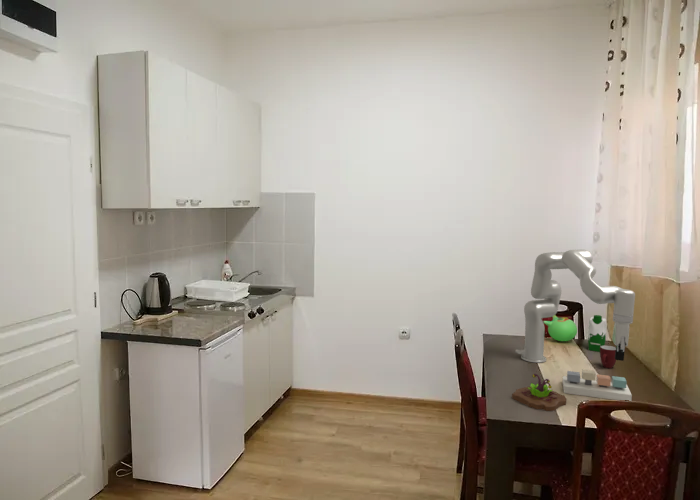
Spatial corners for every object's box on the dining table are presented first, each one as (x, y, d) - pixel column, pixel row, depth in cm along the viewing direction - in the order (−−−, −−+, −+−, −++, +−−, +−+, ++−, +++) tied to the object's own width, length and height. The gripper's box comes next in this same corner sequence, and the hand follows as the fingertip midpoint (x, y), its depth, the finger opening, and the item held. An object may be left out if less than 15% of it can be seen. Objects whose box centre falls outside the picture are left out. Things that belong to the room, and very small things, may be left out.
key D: (612, 393, 214) (613, 379, 214) (611, 389, 219) (611, 376, 218) (625, 395, 213) (626, 381, 212) (623, 390, 217) (624, 377, 217)
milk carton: (586, 350, 280) (588, 315, 278) (588, 346, 288) (590, 312, 286) (604, 353, 276) (606, 317, 274) (605, 349, 283) (607, 314, 281)
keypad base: (563, 392, 217) (564, 386, 217) (562, 382, 230) (562, 375, 230) (631, 401, 208) (631, 395, 208) (625, 390, 221) (626, 383, 221)
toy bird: (570, 346, 288) (572, 321, 286) (541, 340, 299) (542, 316, 297) (580, 340, 302) (581, 316, 300) (551, 335, 312) (552, 312, 311)
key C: (597, 391, 216) (597, 378, 216) (595, 387, 221) (596, 374, 221) (610, 393, 215) (610, 379, 214) (608, 389, 219) (609, 375, 219)
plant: (531, 388, 223) (532, 364, 222) (573, 402, 208) (574, 376, 207) (504, 399, 211) (505, 373, 210) (547, 414, 196) (548, 387, 195)
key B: (582, 385, 218) (583, 372, 218) (581, 382, 223) (582, 369, 223) (594, 387, 217) (595, 374, 216) (593, 383, 221) (594, 370, 221)
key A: (567, 387, 221) (567, 374, 220) (566, 383, 225) (567, 370, 225) (579, 389, 219) (580, 375, 218) (578, 385, 224) (579, 372, 223)
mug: (613, 372, 245) (614, 352, 244) (595, 368, 250) (596, 349, 249) (618, 366, 253) (619, 347, 252) (601, 363, 258) (602, 344, 257)
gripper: (610, 313, 221) (607, 353, 223) (615, 321, 207) (611, 364, 209) (629, 315, 218) (626, 355, 221) (635, 323, 204) (631, 366, 207)
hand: (619, 359), depth 215 cm, fingers closed
